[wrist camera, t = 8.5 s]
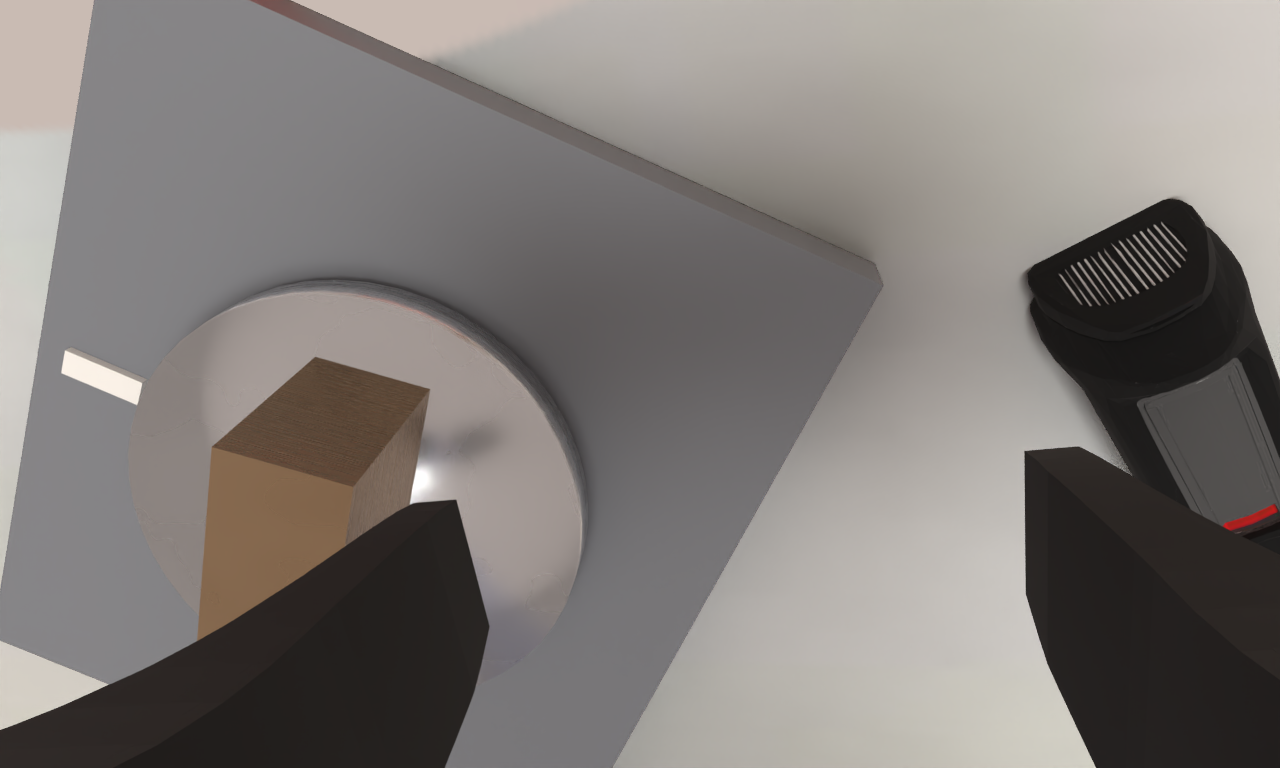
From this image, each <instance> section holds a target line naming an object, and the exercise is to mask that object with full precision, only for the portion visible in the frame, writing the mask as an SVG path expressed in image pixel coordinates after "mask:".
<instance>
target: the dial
mask: <svg viewBox="0 0 1280 768" xmlns="http://www.w3.org/2000/svg"><path fill="white" fill-rule="evenodd" d="M128 461H129V481H130V487H131V492H132V498H133V503H134V507H135V510H136V513H137V517H138V520H139V523H140V526H141V529H142V532H143V534H144V536H145V538H146V540H147V543H148V545H149V547H150V549H151V551H152V553H153V556H154V557H155V559H156V560H157V562H158V564H159V565H160V567H161V569H162V570H163V572H164V574H165V575H166V577H167V579H168V580H169V581H170V583H171V584H172V585H173V586H174V588H175V589H176V590H177V592H178V593H179V594H180V596H181V597H182V598H183V599H184V601H185V602H186V603H187V604H188V605H189V606H190V607H191V608H192V609H193V610H194V611H195V612H196V613H197V614H198V616H199V621H198V634H197V641H198V640H200V639H202V638H203V637H205V636H207V635H209V634H210V633H212V632H214V631H216V630H217V629H219V628H221V627H223V626H224V625H226V624H228V623H229V622H231V621H233V620H234V619H236V618H238V617H239V616H241V615H242V614H244V613H245V612H247V611H248V610H250V609H252V608H253V607H255V606H256V605H258V604H259V603H261V602H262V601H264V600H266V599H267V598H269V597H270V596H272V595H273V594H275V593H277V592H278V591H280V590H281V589H283V588H284V587H286V586H287V585H289V584H291V583H292V582H294V581H295V580H297V579H298V578H300V577H301V576H303V575H304V574H306V573H307V572H309V571H310V570H311V569H313V568H314V567H316V566H317V565H319V564H320V563H322V562H323V561H324V560H326V559H327V558H329V557H330V556H332V555H333V554H335V553H336V552H338V551H339V550H340V549H342V548H343V547H345V546H346V545H348V544H349V543H351V542H352V541H353V540H355V539H356V538H358V537H359V536H361V535H362V534H364V533H365V532H366V531H368V530H369V529H371V528H372V527H374V526H375V525H377V524H378V523H380V522H381V521H383V520H384V519H386V518H388V517H389V516H391V515H392V514H394V513H396V512H397V511H399V510H401V509H403V508H405V507H407V506H409V505H410V504H412V503H419V502H431V501H443V500H455V499H456V500H457V504H458V507H459V511H460V515H461V519H462V523H463V527H464V530H465V534H466V538H467V542H468V546H469V549H470V553H471V557H472V561H473V565H474V568H475V572H476V576H477V580H478V584H479V588H480V591H481V595H482V599H483V603H484V607H485V610H486V614H487V618H488V622H489V626H490V628H489V632H488V637H487V641H486V646H485V650H484V655H483V660H482V664H481V668H480V672H479V676H478V680H477V684H476V686H478V685H480V684H482V683H484V682H486V681H488V680H490V679H492V678H494V677H496V676H498V675H500V674H502V673H504V672H505V671H506V670H508V669H509V668H511V667H512V666H514V665H515V664H517V663H518V662H520V661H521V660H522V659H523V658H524V657H525V656H527V655H528V654H529V653H530V652H531V651H532V650H533V649H534V648H535V647H536V646H537V645H538V644H539V643H540V642H541V641H542V640H543V638H544V637H545V636H546V634H547V633H548V632H549V631H550V629H551V628H552V627H553V626H554V624H555V622H556V621H557V619H558V617H559V615H560V613H561V612H562V610H563V608H564V606H565V604H566V602H567V600H568V597H569V594H570V591H571V589H572V586H573V583H574V580H575V577H576V574H577V571H578V567H579V564H580V561H581V557H582V554H583V549H584V544H585V539H586V533H587V522H588V498H587V489H586V480H585V475H584V471H583V467H582V463H581V460H580V456H579V452H578V449H577V447H576V444H575V442H574V439H573V437H572V435H571V432H570V430H569V427H568V425H567V423H566V421H565V420H564V418H563V416H562V414H561V413H560V411H559V409H558V407H557V406H556V404H555V402H554V400H553V399H552V397H551V396H550V395H549V393H548V392H547V391H546V389H545V388H544V387H543V385H542V384H541V383H540V381H539V380H538V379H537V377H536V376H535V375H534V374H533V373H532V372H531V370H530V369H529V368H528V367H527V366H526V365H525V364H524V363H523V362H522V361H521V360H520V359H519V358H518V357H517V356H516V355H515V354H514V353H513V352H512V351H511V350H510V349H509V348H507V347H506V346H505V345H504V344H502V343H501V342H500V341H499V340H498V339H496V338H495V337H494V336H493V335H491V334H490V333H489V332H488V331H486V330H485V329H483V328H482V327H480V326H478V325H477V324H475V323H474V322H472V321H471V320H469V319H468V318H466V317H464V316H463V315H461V314H460V313H457V312H455V311H453V310H451V309H449V308H447V307H445V306H443V305H441V304H439V303H437V302H435V301H433V300H431V299H428V298H425V297H422V296H419V295H416V294H413V293H410V292H408V291H405V290H402V289H398V288H393V287H389V286H384V285H380V284H375V283H370V282H360V281H349V280H317V281H305V282H299V283H294V284H288V285H283V286H278V287H275V288H272V289H269V290H266V291H263V292H261V293H258V294H255V295H252V296H250V297H248V298H246V299H244V300H242V301H240V302H238V303H236V304H235V305H233V306H231V307H229V308H227V309H226V310H224V311H222V312H221V313H219V314H218V315H216V316H215V317H213V318H211V319H210V320H208V321H207V322H205V323H204V324H202V325H201V326H199V327H198V328H197V329H195V330H194V331H193V332H191V333H190V334H189V335H187V336H186V337H185V338H183V339H182V340H181V341H180V342H179V343H178V344H177V345H176V346H175V347H174V348H173V349H172V350H171V351H170V352H169V353H168V354H167V355H166V356H165V357H164V358H163V360H162V361H161V363H160V364H159V366H158V367H157V368H156V370H155V371H154V373H153V374H152V376H151V377H150V379H149V380H148V382H147V384H146V387H145V389H144V391H143V393H142V395H141V397H140V400H139V402H138V404H137V408H136V412H135V415H134V419H133V423H132V426H131V433H130V442H129V451H128Z"/></svg>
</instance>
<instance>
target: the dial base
mask: <svg viewBox="0 0 1280 768" xmlns="http://www.w3.org/2000/svg"><path fill="white" fill-rule="evenodd" d="M317 280H349V281H360V282H370V283H375V284H380V285H384V286H389V287H393V288H398V289H402V290H405V291H408V292H410V293H413V294H416V295H419V296H422V297H425V298H428V299H431V300H433V301H435V302H437V303H439V304H441V305H443V306H445V307H447V308H449V309H451V310H453V311H455V312H457V313H460V314H461V315H463V316H464V317H466V318H468V319H469V320H471V321H472V322H474V323H475V324H477V325H478V326H480V327H482V328H483V329H485V330H486V331H488V332H489V333H490V334H491V335H493V336H494V337H495V338H496V339H498V340H499V341H500V342H501V343H502V344H504V345H505V346H506V347H507V348H509V349H510V350H511V351H512V352H513V353H514V354H515V355H516V356H517V357H518V358H519V359H520V360H521V361H522V362H523V363H524V364H525V365H526V366H527V367H528V368H529V369H530V370H531V372H532V373H533V374H534V375H535V376H536V377H537V379H538V380H539V381H540V383H541V384H542V385H543V387H544V388H545V389H546V391H547V392H548V393H549V395H550V396H551V397H552V399H553V400H554V402H555V404H556V406H557V407H558V409H559V411H560V413H561V414H562V416H563V418H564V420H565V421H566V423H567V425H568V427H569V430H570V432H571V435H572V437H573V439H574V442H575V444H576V447H577V449H578V452H579V456H580V460H581V463H582V467H583V471H584V475H585V480H586V489H587V498H588V522H587V533H586V539H585V544H584V549H583V554H582V557H581V561H580V564H579V567H578V571H577V574H576V577H575V580H574V583H573V586H572V589H571V591H570V594H569V597H568V600H567V602H566V604H565V606H564V608H563V610H562V612H561V613H560V615H559V617H558V619H557V621H556V622H555V624H554V626H553V627H552V628H551V629H550V631H549V632H548V633H547V634H546V636H545V637H544V638H543V640H542V641H541V642H540V643H539V644H538V645H537V646H536V647H535V648H534V649H533V650H532V651H531V652H530V653H529V654H528V655H527V656H525V657H524V658H523V659H522V660H521V661H520V662H518V663H517V664H515V665H514V666H512V667H511V668H509V669H508V670H506V671H505V672H504V673H502V674H500V675H498V676H496V677H494V678H492V679H490V680H488V681H486V682H484V683H482V684H480V685H478V686H476V688H475V691H474V694H473V697H472V700H471V702H470V705H469V708H468V710H467V713H466V716H465V718H464V721H463V723H462V726H461V728H460V731H459V733H458V736H457V739H456V741H455V744H454V746H453V749H452V751H451V754H450V756H449V759H448V761H447V764H446V766H445V768H612V767H613V765H614V764H615V762H616V760H617V758H618V756H619V755H620V753H621V751H622V749H623V748H624V746H625V744H626V742H627V740H628V739H629V737H630V735H631V733H632V732H633V730H634V728H635V726H636V724H637V723H638V721H639V719H640V717H641V716H642V714H643V712H644V710H645V708H646V707H647V705H648V703H649V701H650V700H651V698H652V696H653V694H654V692H655V691H656V689H657V687H658V685H659V684H660V682H661V680H662V678H663V676H664V675H665V673H666V671H667V669H668V668H669V666H670V664H671V662H672V660H673V659H674V657H675V655H676V653H677V651H678V650H679V648H680V646H681V644H682V643H683V641H684V639H685V637H686V635H687V634H688V632H689V630H690V628H691V627H692V625H693V623H694V621H695V619H696V618H697V616H698V614H699V612H700V611H701V609H702V607H703V605H704V603H705V602H706V600H707V598H708V596H709V595H710V593H711V591H712V589H713V587H714V586H715V584H716V582H717V580H718V579H719V577H720V575H721V573H722V571H723V570H724V568H725V566H726V564H727V563H728V561H729V559H730V557H731V555H732V554H733V552H734V550H735V548H736V547H737V545H738V543H739V541H740V539H741V538H742V536H743V534H744V532H745V530H746V529H747V527H748V525H749V523H750V522H751V520H752V518H753V516H754V514H755V513H756V511H757V509H758V507H759V506H760V504H761V502H762V500H763V498H764V497H765V495H766V493H767V491H768V490H769V488H770V486H771V484H772V482H773V481H774V479H775V477H776V475H777V474H778V472H779V470H780V468H781V466H782V465H783V463H784V461H785V459H786V458H787V456H788V454H789V452H790V450H791V449H792V447H793V445H794V443H795V442H796V440H797V438H798V436H799V434H800V433H801V431H802V429H803V427H804V426H805V424H806V422H807V420H808V418H809V417H810V415H811V413H812V411H813V409H814V408H815V406H816V404H817V402H818V401H819V399H820V397H821V395H822V393H823V392H824V390H825V388H826V386H827V385H828V383H829V381H830V379H831V377H832V376H833V374H834V372H835V370H836V369H837V367H838V365H839V363H840V361H841V360H842V358H843V356H844V354H845V353H846V351H847V349H848V347H849V345H850V344H851V342H852V340H853V338H854V337H855V335H856V333H857V331H858V329H859V328H860V326H861V324H862V322H863V321H864V319H865V317H866V315H867V313H868V312H869V310H870V308H871V306H872V305H873V303H874V301H875V299H876V297H877V296H878V294H879V292H880V290H881V288H882V287H883V283H882V281H881V278H880V276H879V273H878V270H877V268H876V265H875V264H874V263H872V262H870V261H868V260H865V259H863V258H861V257H859V256H856V255H854V254H852V253H850V252H848V251H845V250H843V249H841V248H839V247H836V246H834V245H832V244H830V243H828V242H825V241H823V240H821V239H819V238H817V237H814V236H812V235H810V234H808V233H805V232H803V231H801V230H799V229H797V228H794V227H792V226H790V225H788V224H785V223H783V222H781V221H779V220H777V219H774V218H772V217H770V216H768V215H766V214H763V213H761V212H759V211H757V210H754V209H752V208H750V207H748V206H746V205H743V204H741V203H739V202H737V201H734V200H732V199H730V198H728V197H726V196H723V195H721V194H719V193H717V192H715V191H712V190H710V189H708V188H706V187H703V186H701V185H699V184H697V183H695V182H692V181H690V180H688V179H686V178H683V177H681V176H679V175H677V174H675V173H672V172H670V171H668V170H666V169H663V168H661V167H659V166H657V165H655V164H652V163H650V162H648V161H646V160H644V159H641V158H639V157H637V156H635V155H632V154H630V153H628V152H626V151H624V150H621V149H619V148H617V147H615V146H612V145H610V144H608V143H606V142H604V141H601V140H599V139H597V138H595V137H593V136H590V135H588V134H586V133H584V132H581V131H579V130H577V129H575V128H573V127H570V126H568V125H566V124H564V123H561V122H559V121H557V120H555V119H553V118H550V117H548V116H546V115H544V114H542V113H539V112H537V111H535V110H533V109H530V108H528V107H526V106H524V105H522V104H519V103H517V102H515V101H513V100H510V99H508V98H506V97H504V96H502V95H499V94H497V93H495V92H493V91H491V90H488V89H486V88H484V87H482V86H479V85H477V84H475V83H473V82H471V81H468V80H466V79H464V78H462V77H459V76H457V75H455V74H453V73H451V72H448V71H446V70H444V69H442V68H439V67H437V66H435V65H433V64H431V63H428V62H426V61H424V60H422V59H420V58H417V57H415V56H413V55H411V54H408V53H406V52H404V51H402V50H400V49H397V48H395V47H393V46H391V45H388V44H386V43H384V42H382V41H379V40H377V39H375V38H373V37H371V36H368V35H366V34H364V33H362V32H360V31H357V30H355V29H353V28H351V27H349V26H346V25H344V24H342V23H340V22H337V21H335V20H333V19H331V18H329V17H326V16H324V15H322V14H320V13H318V12H315V11H313V10H311V9H309V8H306V7H304V6H302V5H300V4H298V3H295V2H293V1H291V0H94V5H93V11H92V17H91V24H90V30H89V36H88V43H87V49H86V55H85V61H84V68H83V74H82V80H81V87H80V93H79V99H78V105H77V112H76V118H75V124H74V131H73V137H72V143H71V149H70V156H69V162H68V168H67V174H66V181H65V187H64V193H63V200H62V206H61V212H60V218H59V225H58V231H57V237H56V244H55V250H54V256H53V262H52V269H51V275H50V281H49V287H48V294H47V300H46V306H45V313H44V319H43V325H42V331H41V338H40V344H39V350H38V357H37V363H36V369H35V375H34V382H33V388H32V394H31V400H30V407H29V413H28V419H27V426H26V432H25V438H24V444H23V451H22V457H21V463H20V470H19V476H18V482H17V488H16V495H15V501H14V507H13V514H12V520H11V526H10V532H9V539H8V545H7V551H6V557H5V564H4V570H3V576H2V583H1V589H0V641H3V642H5V643H8V644H10V645H13V646H15V647H18V648H20V649H23V650H25V651H28V652H30V653H33V654H35V655H37V656H40V657H42V658H45V659H47V660H50V661H52V662H55V663H57V664H60V665H62V666H65V667H67V668H70V669H72V670H75V671H77V672H80V673H82V674H85V675H87V676H90V677H92V678H95V679H97V680H100V681H102V682H104V683H107V684H109V685H110V684H112V683H114V682H116V681H118V680H121V679H123V678H125V677H127V676H129V675H132V674H134V673H136V672H138V671H140V670H143V669H145V668H147V667H149V666H151V665H153V664H155V663H157V662H159V661H160V660H162V659H164V658H166V657H168V656H170V655H172V654H174V653H175V652H177V651H179V650H181V649H183V648H185V647H187V646H189V645H191V644H192V643H194V642H196V641H197V634H198V621H199V616H198V614H197V613H196V612H195V611H194V610H193V609H192V608H191V607H190V606H189V605H188V604H187V603H186V602H185V601H184V599H183V598H182V597H181V596H180V594H179V593H178V592H177V590H176V589H175V588H174V586H173V585H172V584H171V583H170V581H169V580H168V579H167V577H166V575H165V574H164V572H163V570H162V569H161V567H160V565H159V564H158V562H157V560H156V559H155V557H154V556H153V553H152V551H151V549H150V547H149V545H148V543H147V540H146V538H145V536H144V534H143V532H142V529H141V526H140V523H139V520H138V517H137V513H136V510H135V507H134V503H133V498H132V492H131V487H130V481H129V461H128V451H129V442H130V433H131V426H132V423H133V419H134V415H135V412H136V408H137V404H138V402H139V400H140V397H141V395H142V393H143V391H144V389H145V387H146V384H147V382H148V380H149V379H150V377H151V376H152V374H153V373H154V371H155V370H156V368H157V367H158V366H159V364H160V363H161V361H162V360H163V358H164V357H165V356H166V355H167V354H168V353H169V352H170V351H171V350H172V349H173V348H174V347H175V346H176V345H177V344H178V343H179V342H180V341H181V340H182V339H183V338H185V337H186V336H187V335H189V334H190V333H191V332H193V331H194V330H195V329H197V328H198V327H199V326H201V325H202V324H204V323H205V322H207V321H208V320H210V319H211V318H213V317H215V316H216V315H218V314H219V313H221V312H222V311H224V310H226V309H227V308H229V307H231V306H233V305H235V304H236V303H238V302H240V301H242V300H244V299H246V298H248V297H250V296H252V295H255V294H258V293H261V292H263V291H266V290H269V289H272V288H275V287H278V286H283V285H288V284H294V283H299V282H305V281H317Z"/></svg>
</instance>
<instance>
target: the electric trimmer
mask: <svg viewBox="0 0 1280 768" xmlns="http://www.w3.org/2000/svg"><path fill="white" fill-rule="evenodd" d="M1028 282H1029V286H1030V288H1031V290H1032V293H1033V295H1034V299H1033V301H1032V303H1031V304H1030V311H1031V314H1032V317H1033V320H1034V322H1035V325H1036V327H1037V330H1038V332H1039V335H1040V337H1041V340H1042V341H1043V343H1044V344H1045V346H1046V347H1047V349H1048V350H1049V352H1050V353H1051V355H1052V356H1053V357H1054V359H1055V360H1056V361H1057V362H1058V363H1059V364H1060V365H1061V367H1062V368H1063V369H1064V370H1065V371H1066V372H1067V373H1068V374H1069V375H1070V376H1071V377H1072V378H1073V379H1074V380H1075V381H1076V382H1077V383H1078V384H1079V385H1080V386H1081V387H1082V388H1083V389H1084V391H1085V393H1086V395H1087V396H1088V398H1089V400H1090V402H1091V403H1092V405H1093V407H1094V409H1095V410H1096V412H1097V414H1098V416H1099V417H1100V419H1101V421H1102V423H1103V424H1104V426H1105V428H1106V430H1107V431H1108V433H1109V435H1110V437H1111V438H1112V440H1113V442H1114V444H1115V445H1116V447H1117V449H1118V451H1119V452H1120V454H1121V456H1122V458H1123V459H1124V461H1125V463H1126V465H1127V467H1128V468H1129V470H1130V472H1131V474H1132V475H1133V477H1134V478H1136V479H1138V480H1140V481H1141V482H1143V483H1145V484H1146V485H1148V486H1150V487H1152V488H1153V489H1155V490H1157V491H1159V492H1160V493H1162V494H1164V495H1166V496H1167V497H1169V498H1171V499H1173V500H1174V501H1176V502H1178V503H1180V504H1182V505H1183V506H1185V507H1187V508H1189V509H1190V510H1192V511H1194V512H1196V513H1198V514H1200V515H1202V516H1203V517H1205V518H1207V519H1209V520H1211V521H1213V522H1215V523H1217V524H1219V525H1220V526H1222V527H1224V528H1226V529H1228V530H1230V531H1232V532H1234V533H1236V534H1238V535H1240V536H1242V537H1244V538H1246V539H1248V540H1250V541H1253V542H1255V543H1257V544H1259V545H1261V546H1263V547H1265V548H1267V549H1269V550H1271V551H1273V552H1275V553H1277V554H1279V555H1280V379H1279V376H1278V373H1277V370H1276V368H1275V365H1274V362H1273V359H1272V357H1271V354H1270V351H1269V348H1268V346H1267V343H1266V340H1265V338H1264V335H1263V332H1262V329H1261V327H1260V324H1259V321H1258V318H1257V316H1256V313H1255V309H1254V305H1253V302H1252V298H1251V294H1250V291H1249V287H1248V283H1247V280H1246V278H1245V275H1244V272H1243V270H1242V267H1241V265H1240V263H1239V262H1238V261H1237V259H1236V258H1235V256H1234V255H1233V253H1232V252H1231V251H1230V250H1229V248H1228V247H1227V246H1226V245H1225V244H1224V243H1223V242H1222V240H1221V239H1220V238H1219V237H1218V235H1217V234H1216V233H1214V232H1213V231H1212V230H1211V229H1210V228H1208V227H1206V226H1205V223H1204V221H1203V220H1202V218H1201V217H1200V216H1199V215H1198V213H1197V212H1196V211H1195V210H1194V208H1193V207H1192V206H1190V205H1188V204H1187V203H1185V202H1183V201H1181V200H1173V199H1167V200H1162V201H1160V202H1158V203H1156V204H1154V205H1152V206H1150V207H1148V208H1146V209H1144V210H1142V211H1140V212H1139V213H1137V214H1135V215H1133V216H1131V217H1129V218H1127V219H1125V220H1123V221H1121V222H1119V223H1117V224H1115V225H1113V226H1111V227H1109V228H1107V229H1105V230H1103V231H1101V232H1099V233H1097V234H1095V235H1093V236H1091V237H1089V238H1087V239H1085V240H1083V241H1081V242H1079V243H1077V244H1075V245H1073V246H1071V247H1069V248H1067V249H1065V250H1063V251H1061V252H1059V253H1057V254H1055V255H1053V256H1051V257H1049V258H1047V259H1045V260H1043V261H1041V262H1039V263H1037V264H1035V265H1034V266H1033V267H1032V268H1031V270H1030V271H1029V273H1028Z"/></svg>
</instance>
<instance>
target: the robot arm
mask: <svg viewBox="0 0 1280 768" xmlns="http://www.w3.org/2000/svg"><path fill="white" fill-rule="evenodd" d="M1025 556H1026V596H1027V599H1028V602H1029V606H1030V609H1031V612H1032V616H1033V619H1034V623H1035V626H1036V629H1037V633H1038V636H1039V639H1040V642H1041V645H1042V648H1043V651H1044V654H1045V657H1046V660H1047V664H1048V666H1049V668H1050V670H1051V672H1052V675H1053V677H1054V679H1055V681H1056V683H1057V686H1058V688H1059V690H1060V692H1061V694H1062V696H1063V699H1064V701H1065V703H1066V705H1067V707H1068V709H1069V711H1070V714H1071V716H1072V718H1073V720H1074V722H1075V724H1076V726H1077V728H1078V731H1079V733H1080V735H1081V737H1082V739H1083V741H1084V743H1085V745H1086V747H1087V750H1088V752H1089V754H1090V756H1091V758H1092V760H1093V762H1094V764H1095V766H1096V768H1280V555H1279V554H1277V553H1275V552H1273V551H1271V550H1269V549H1267V548H1265V547H1263V546H1261V545H1259V544H1257V543H1255V542H1253V541H1250V540H1248V539H1246V538H1244V537H1242V536H1240V535H1238V534H1236V533H1234V532H1232V531H1230V530H1228V529H1226V528H1224V527H1222V526H1220V525H1219V524H1217V523H1215V522H1213V521H1211V520H1209V519H1207V518H1205V517H1203V516H1202V515H1200V514H1198V513H1196V512H1194V511H1192V510H1190V509H1189V508H1187V507H1185V506H1183V505H1182V504H1180V503H1178V502H1176V501H1174V500H1173V499H1171V498H1169V497H1167V496H1166V495H1164V494H1162V493H1160V492H1159V491H1157V490H1155V489H1153V488H1152V487H1150V486H1148V485H1146V484H1145V483H1143V482H1141V481H1140V480H1138V479H1136V478H1134V477H1133V476H1131V475H1129V474H1128V473H1126V472H1124V471H1123V470H1121V469H1119V468H1117V467H1116V466H1114V465H1112V464H1110V463H1109V462H1107V461H1105V460H1103V459H1102V458H1100V457H1098V456H1096V455H1094V454H1093V453H1091V452H1089V451H1087V450H1085V449H1083V448H1080V447H1067V448H1055V449H1043V450H1032V451H1025ZM489 628H490V626H489V622H488V618H487V614H486V610H485V607H484V603H483V599H482V595H481V591H480V588H479V584H478V580H477V576H476V572H475V568H474V565H473V561H472V557H471V553H470V549H469V546H468V542H467V538H466V534H465V530H464V527H463V523H462V519H461V515H460V511H459V507H458V504H457V500H456V499H455V500H443V501H431V502H419V503H412V504H410V505H409V506H407V507H405V508H403V509H401V510H399V511H397V512H396V513H394V514H392V515H391V516H389V517H388V518H386V519H384V520H383V521H381V522H380V523H378V524H377V525H375V526H374V527H372V528H371V529H369V530H368V531H366V532H365V533H364V534H362V535H361V536H359V537H358V538H356V539H355V540H353V541H352V542H351V543H349V544H348V545H346V546H345V547H343V548H342V549H340V550H339V551H338V552H336V553H335V554H333V555H332V556H330V557H329V558H327V559H326V560H324V561H323V562H322V563H320V564H319V565H317V566H316V567H314V568H313V569H311V570H310V571H309V572H307V573H306V574H304V575H303V576H301V577H300V578H298V579H297V580H295V581H294V582H292V583H291V584H289V585H287V586H286V587H284V588H283V589H281V590H280V591H278V592H277V593H275V594H273V595H272V596H270V597H269V598H267V599H266V600H264V601H262V602H261V603H259V604H258V605H256V606H255V607H253V608H252V609H250V610H248V611H247V612H245V613H244V614H242V615H241V616H239V617H238V618H236V619H234V620H233V621H231V622H229V623H228V624H226V625H224V626H223V627H221V628H219V629H217V630H216V631H214V632H212V633H210V634H209V635H207V636H205V637H203V638H202V639H200V640H198V641H196V642H194V643H192V644H191V645H189V646H187V647H185V648H183V649H181V650H179V651H177V652H175V653H174V654H172V655H170V656H168V657H166V658H164V659H162V660H160V661H159V662H157V663H155V664H153V665H151V666H149V667H147V668H145V669H143V670H140V671H138V672H136V673H134V674H132V675H129V676H127V677H125V678H123V679H121V680H118V681H116V682H114V683H112V684H110V685H107V686H105V687H103V688H101V689H99V690H96V691H94V692H92V693H90V694H88V695H85V696H83V697H81V698H79V699H77V700H74V701H72V702H70V703H68V704H66V705H63V706H61V707H58V708H56V709H54V710H51V711H48V712H46V713H43V714H41V715H38V716H36V717H33V718H31V719H28V720H26V721H23V722H21V723H18V724H16V725H13V726H10V727H8V728H5V729H2V730H0V768H445V766H446V764H447V761H448V759H449V756H450V754H451V751H452V749H453V746H454V744H455V741H456V739H457V736H458V733H459V731H460V728H461V726H462V723H463V721H464V718H465V716H466V713H467V710H468V708H469V705H470V702H471V700H472V697H473V694H474V691H475V688H476V684H477V680H478V676H479V672H480V668H481V664H482V660H483V655H484V650H485V646H486V641H487V637H488V632H489Z"/></svg>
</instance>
